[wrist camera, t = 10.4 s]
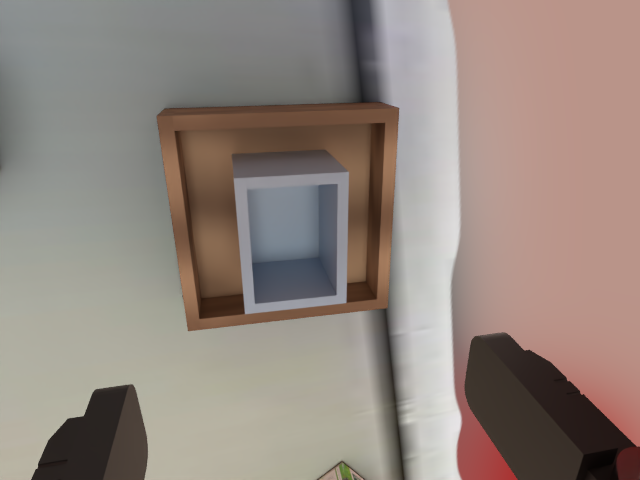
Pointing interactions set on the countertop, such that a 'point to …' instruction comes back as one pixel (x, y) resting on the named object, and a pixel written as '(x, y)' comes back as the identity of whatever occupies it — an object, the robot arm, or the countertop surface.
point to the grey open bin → (291, 229)
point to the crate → (220, 205)
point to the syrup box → (341, 474)
